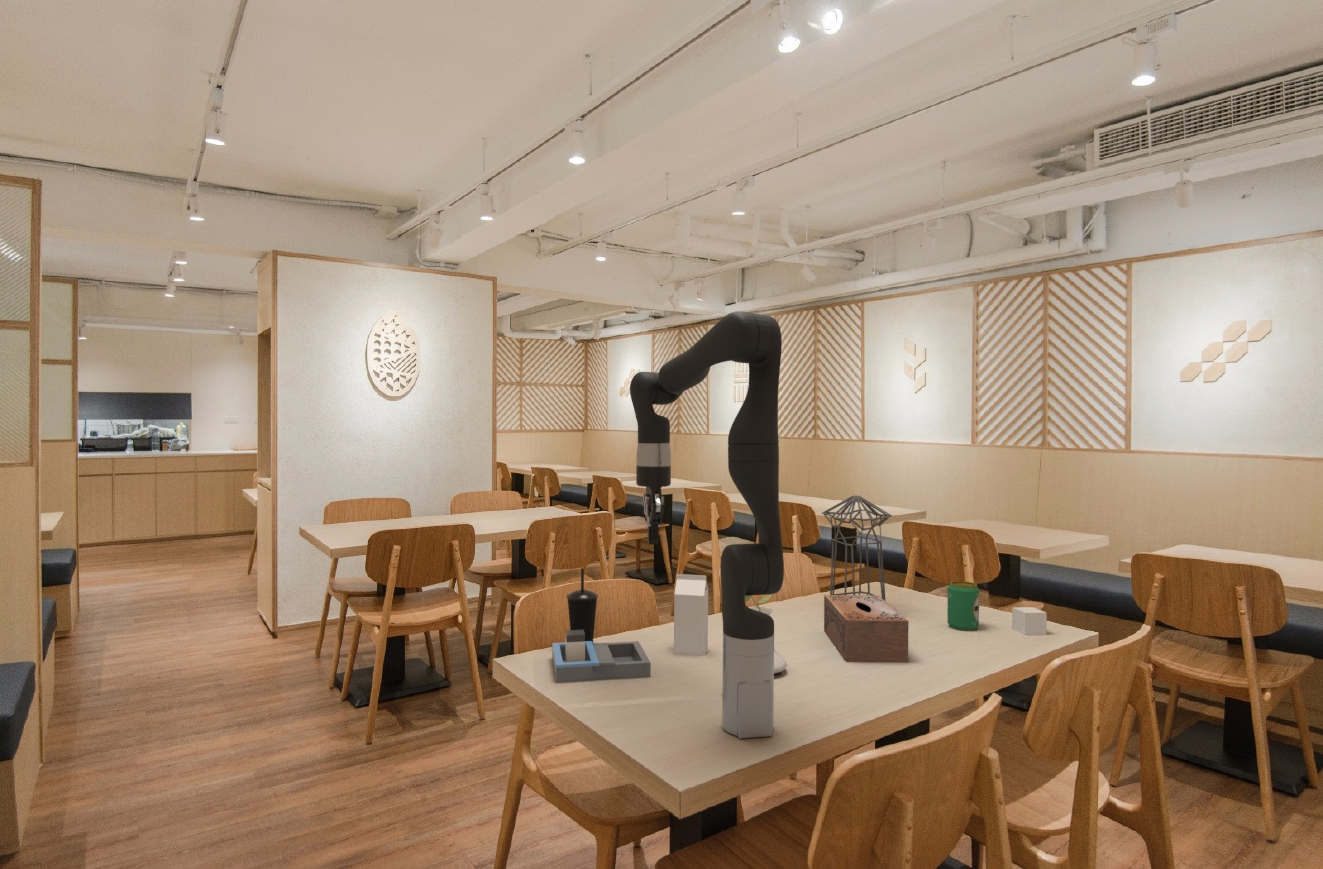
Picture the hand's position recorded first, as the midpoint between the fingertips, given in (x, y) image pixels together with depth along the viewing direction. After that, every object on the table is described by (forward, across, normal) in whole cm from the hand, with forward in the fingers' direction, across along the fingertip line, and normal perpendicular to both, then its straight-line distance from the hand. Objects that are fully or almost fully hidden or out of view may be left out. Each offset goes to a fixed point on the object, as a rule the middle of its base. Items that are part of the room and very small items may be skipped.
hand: (653, 543), depth 159 cm
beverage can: (+29, +24, -91) cm, 99 cm away
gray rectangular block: (+28, +5, +16) cm, 33 cm away
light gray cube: (+29, +17, -106) cm, 111 cm away
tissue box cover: (+30, +13, -56) cm, 65 cm away
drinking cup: (+29, +21, +14) cm, 38 cm away
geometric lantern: (+29, +42, -68) cm, 85 cm away
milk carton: (+29, +14, -12) cm, 35 cm away
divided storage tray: (+29, +5, +11) cm, 31 cm away
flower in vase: (+29, 0, -24) cm, 38 cm away
